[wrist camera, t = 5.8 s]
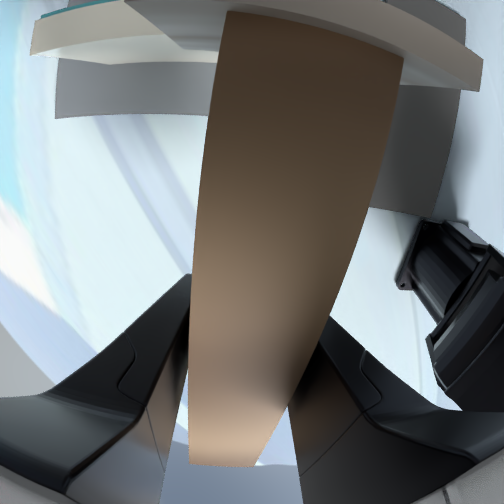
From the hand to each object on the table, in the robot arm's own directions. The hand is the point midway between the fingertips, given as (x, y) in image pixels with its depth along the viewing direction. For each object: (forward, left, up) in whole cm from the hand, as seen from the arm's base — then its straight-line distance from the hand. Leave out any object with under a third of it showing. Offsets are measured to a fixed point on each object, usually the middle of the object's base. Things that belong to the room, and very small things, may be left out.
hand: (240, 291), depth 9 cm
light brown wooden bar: (0, 0, -1) cm, 1 cm away
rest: (+8, -11, -11) cm, 18 cm away
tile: (+8, +5, -10) cm, 14 cm away
